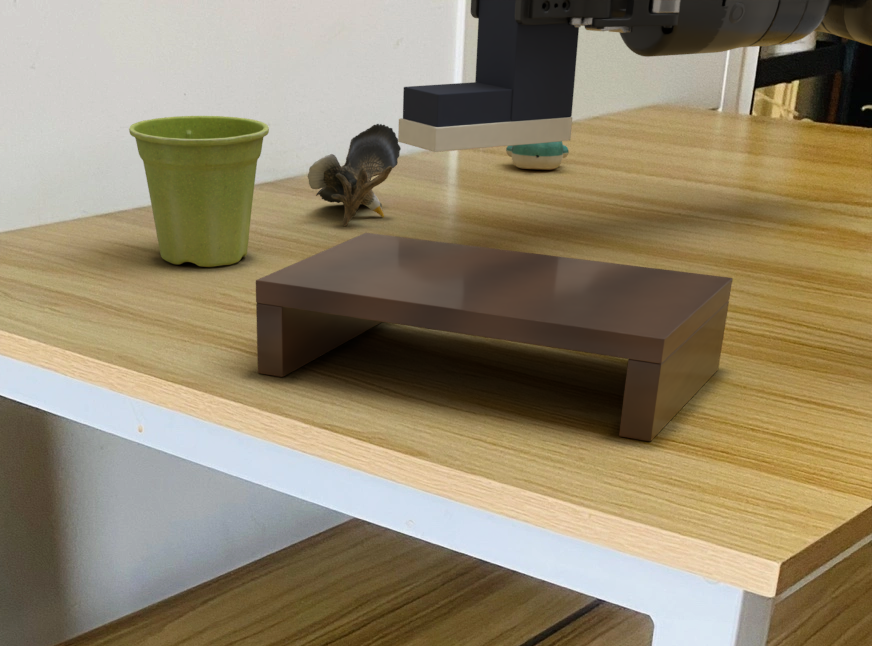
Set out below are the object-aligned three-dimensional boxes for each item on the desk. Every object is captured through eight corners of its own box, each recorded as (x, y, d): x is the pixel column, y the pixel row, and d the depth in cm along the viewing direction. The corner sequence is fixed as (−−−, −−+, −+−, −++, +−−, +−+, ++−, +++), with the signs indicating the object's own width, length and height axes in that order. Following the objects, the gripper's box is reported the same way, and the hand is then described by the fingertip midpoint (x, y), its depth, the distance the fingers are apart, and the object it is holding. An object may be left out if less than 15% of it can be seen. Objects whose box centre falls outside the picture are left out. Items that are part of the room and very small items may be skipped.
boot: (530, 131, 99) (541, -35, 94) (570, 140, 95) (585, -32, 90) (397, 142, 95) (401, -31, 89) (434, 152, 91) (441, -28, 86)
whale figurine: (503, 171, 126) (506, 127, 124) (506, 157, 133) (509, 115, 131) (567, 174, 126) (571, 129, 124) (567, 159, 132) (571, 117, 130)
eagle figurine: (419, 212, 105) (421, 168, 112) (369, 131, 101) (374, 90, 108) (336, 263, 108) (343, 217, 115) (285, 186, 104) (295, 143, 111)
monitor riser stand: (718, 369, 76) (732, 277, 73) (650, 442, 66) (664, 338, 63) (363, 316, 85) (365, 232, 82) (257, 373, 75) (255, 280, 72)
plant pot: (295, 263, 96) (294, 130, 91) (173, 280, 92) (166, 141, 87) (232, 237, 103) (228, 111, 98) (116, 252, 98) (106, 121, 94)
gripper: (640, -68, 101) (441, -65, 94) (777, -63, 90) (563, -59, 83) (628, 45, 105) (437, 55, 98) (758, 63, 94) (553, 76, 87)
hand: (496, 3), depth 91 cm, fingers closed on boot, 4 cm apart
